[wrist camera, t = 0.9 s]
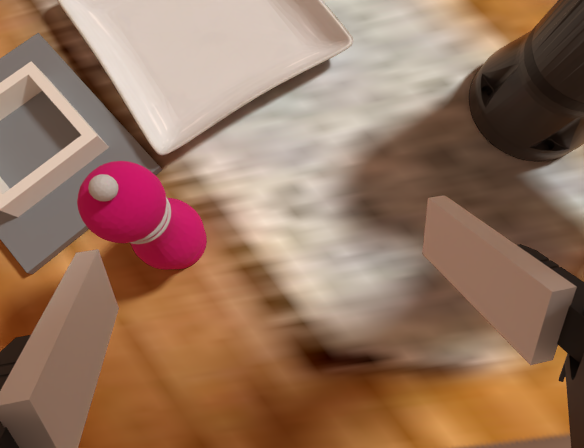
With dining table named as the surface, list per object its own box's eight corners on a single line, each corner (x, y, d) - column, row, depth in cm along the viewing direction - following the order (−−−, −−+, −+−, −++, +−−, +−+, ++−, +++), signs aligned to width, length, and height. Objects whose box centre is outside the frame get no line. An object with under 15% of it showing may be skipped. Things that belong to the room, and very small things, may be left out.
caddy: (43, 38, 50) (22, 14, 46) (162, 169, 46) (151, 156, 42) (-85, 125, 47) (-118, 108, 43) (32, 274, 43) (8, 269, 39)
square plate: (353, 60, 51) (358, 39, 47) (167, 170, 47) (157, 157, 43) (240, -81, 55) (237, -110, 52) (63, 8, 51) (45, -17, 48)
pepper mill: (133, 249, 44) (14, 196, 24) (173, 198, 45) (92, 110, 26) (184, 286, 43) (103, 262, 24) (224, 234, 45) (178, 170, 25)
